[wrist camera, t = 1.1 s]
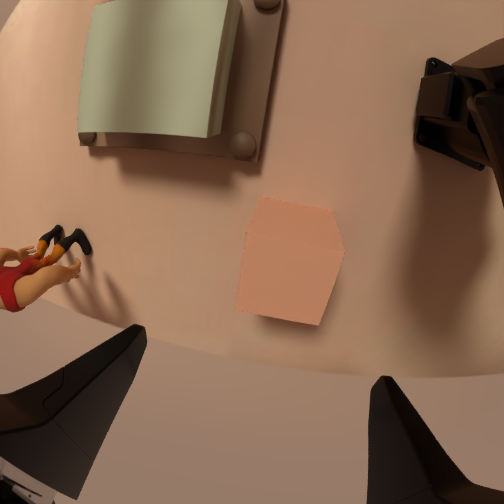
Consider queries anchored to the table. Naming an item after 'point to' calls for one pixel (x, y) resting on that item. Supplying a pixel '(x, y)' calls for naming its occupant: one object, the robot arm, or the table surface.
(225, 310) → the table surface
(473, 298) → the table surface
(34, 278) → the action figure
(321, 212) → the terracotta brick
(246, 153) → the tower base
